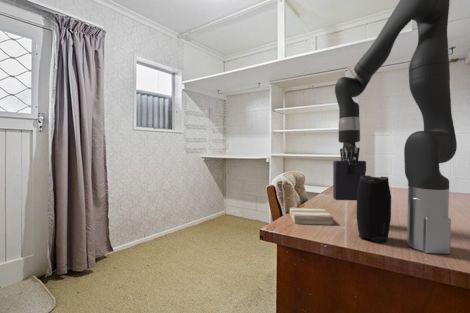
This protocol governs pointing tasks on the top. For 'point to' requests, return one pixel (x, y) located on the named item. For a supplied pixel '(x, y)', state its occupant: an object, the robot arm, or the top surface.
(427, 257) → the top surface
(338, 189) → the black rectangular block
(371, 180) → the portable speaker
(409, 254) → the top surface
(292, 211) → the birch plinth
